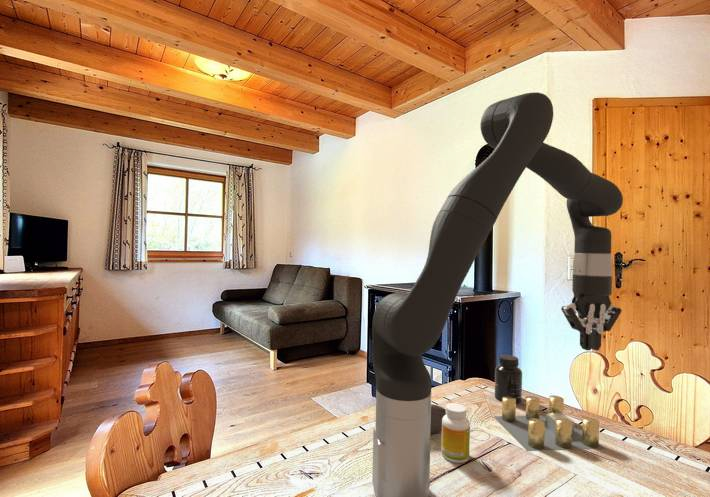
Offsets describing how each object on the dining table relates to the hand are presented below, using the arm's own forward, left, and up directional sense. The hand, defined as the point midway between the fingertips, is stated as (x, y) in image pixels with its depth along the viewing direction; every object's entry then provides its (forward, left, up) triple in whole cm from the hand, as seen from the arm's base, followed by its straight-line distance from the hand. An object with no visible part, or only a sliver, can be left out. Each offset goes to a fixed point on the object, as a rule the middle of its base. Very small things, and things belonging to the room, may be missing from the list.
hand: (590, 349), depth 83 cm
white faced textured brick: (-7, 0, -18) cm, 20 cm away
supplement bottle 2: (-10, +17, -19) cm, 28 cm away
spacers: (-10, 0, -19) cm, 21 cm away
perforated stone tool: (-39, +1, -19) cm, 44 cm away
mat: (-14, 0, -19) cm, 23 cm away
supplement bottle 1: (-34, -8, -19) cm, 40 cm away
